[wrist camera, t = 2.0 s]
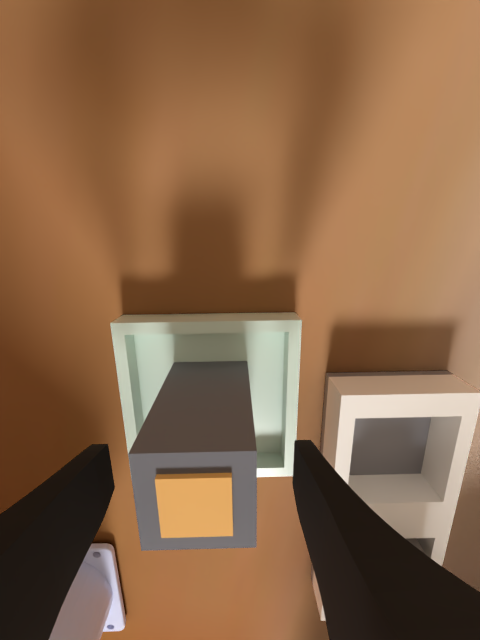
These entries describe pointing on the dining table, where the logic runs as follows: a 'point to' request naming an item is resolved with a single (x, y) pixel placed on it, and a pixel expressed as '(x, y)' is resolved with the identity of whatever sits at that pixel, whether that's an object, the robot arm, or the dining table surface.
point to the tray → (216, 345)
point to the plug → (197, 461)
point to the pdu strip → (401, 448)
